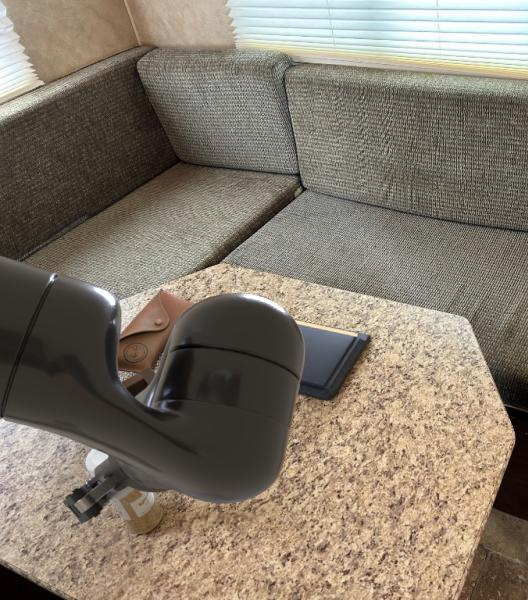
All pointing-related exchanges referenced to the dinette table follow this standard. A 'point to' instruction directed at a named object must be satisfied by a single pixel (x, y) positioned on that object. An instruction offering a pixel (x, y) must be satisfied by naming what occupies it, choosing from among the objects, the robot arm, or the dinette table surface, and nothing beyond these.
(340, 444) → the dinette table surface
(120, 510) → the sprinkles bottle
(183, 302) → the sunglasses case
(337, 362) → the wallet
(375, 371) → the dinette table surface
